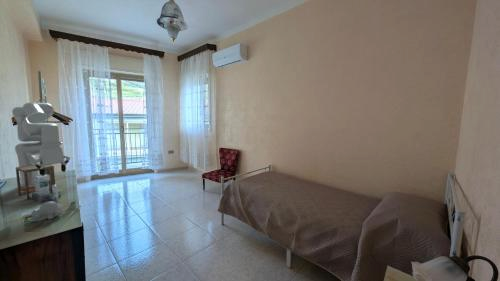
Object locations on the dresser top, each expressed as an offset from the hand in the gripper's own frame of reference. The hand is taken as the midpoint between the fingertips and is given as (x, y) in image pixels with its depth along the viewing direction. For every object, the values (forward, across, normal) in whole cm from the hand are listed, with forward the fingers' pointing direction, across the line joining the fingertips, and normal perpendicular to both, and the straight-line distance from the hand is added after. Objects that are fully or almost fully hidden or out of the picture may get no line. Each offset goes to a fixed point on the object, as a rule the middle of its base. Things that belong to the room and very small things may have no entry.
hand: (53, 173), depth 128 cm
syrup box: (+18, +1, -14) cm, 23 cm away
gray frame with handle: (+18, 0, -8) cm, 19 cm away
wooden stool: (+18, 0, -25) cm, 31 cm away
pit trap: (+19, 0, -38) cm, 42 cm away
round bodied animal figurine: (+17, +12, +23) cm, 31 cm away
